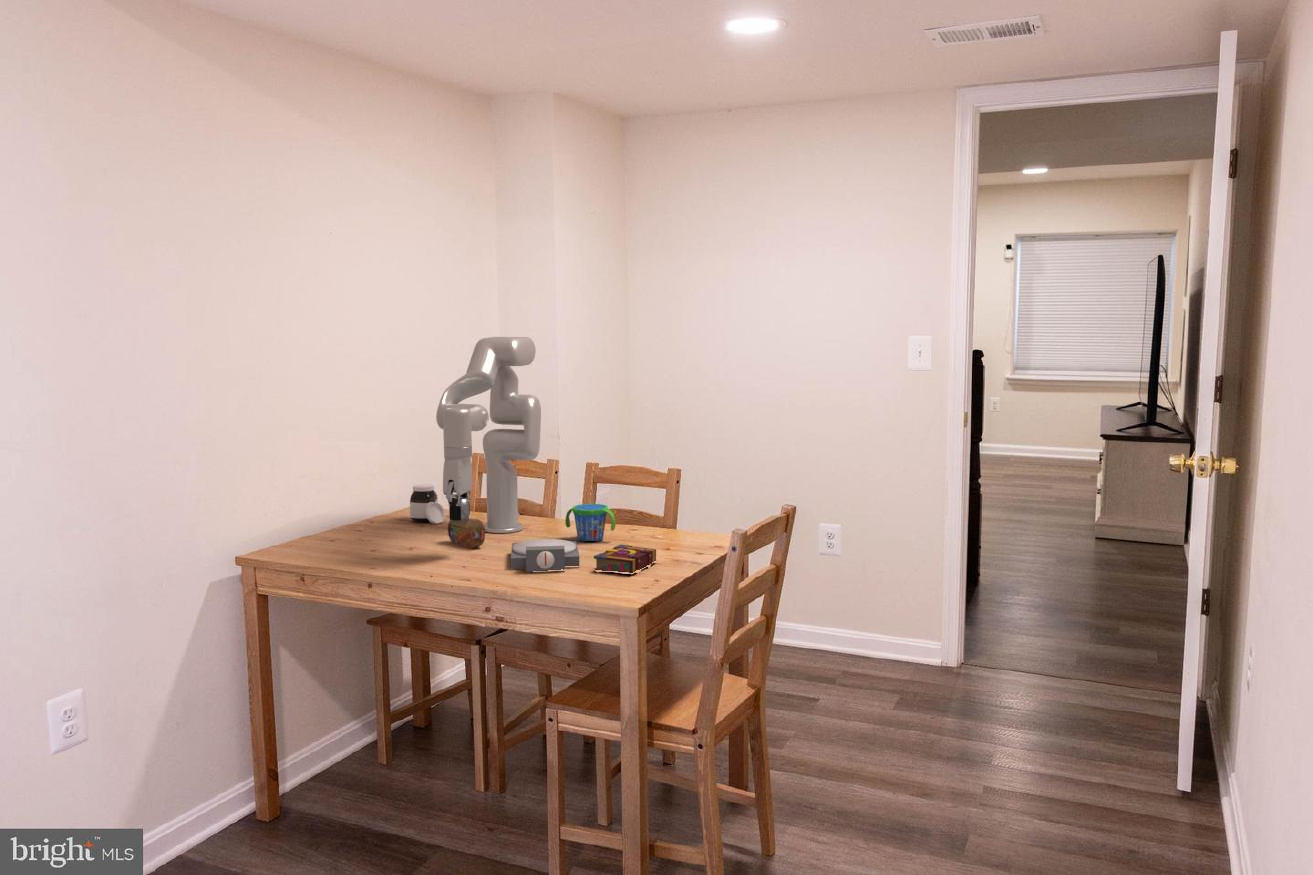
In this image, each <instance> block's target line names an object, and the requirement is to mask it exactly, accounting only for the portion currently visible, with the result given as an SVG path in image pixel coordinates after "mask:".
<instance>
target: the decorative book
mask: <svg viewBox="0 0 1313 875" xmlns="http://www.w3.org/2000/svg"><path fill="white" fill-rule="evenodd" d="M593 560H596V567H595V568H594V569H595V570H602V571H618V572H629V573H633V572H635V571H636V570H640V569H642V568H644V567H646V566H647V565H650V564H652V562H654V561H656V562H657V549H655V548H649V547H639V546H633V545H628V544H622V543H621V544H619V545H616V546H613V548H611V549H610V548H607V549H606V550H605V552H602V553H601V552H600V553H598V554H595V555H593Z"/></svg>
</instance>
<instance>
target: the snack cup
mask: <svg viewBox="0 0 1313 875" xmlns="http://www.w3.org/2000/svg"><path fill="white" fill-rule="evenodd" d="M571 513H573V516H574V522H575V529H576V534H577V539H578V540H579V541H580V540H581V541H580V542H583V541H596V542H599V541H598V540H600V541H602V540H603V539H604V534H605V528H606V518H607V514H608V515H609V517H610V520H611V525H610V531H611V532H613V531H614V530H615V529H616V523H617V522H616V518H615V514H614V513H613V511H612V510H610V509H609V508H608V505H606V504H602V503H583V504H582V503H581V504H577V505H574V506H572V508H570V509H568V510H567V512H566V515H565V520H564V521H565V527H566V528H570V527H571V521H570V516H571Z"/></svg>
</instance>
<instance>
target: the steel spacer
mask: <svg viewBox="0 0 1313 875" xmlns="http://www.w3.org/2000/svg"><path fill="white" fill-rule="evenodd" d="M453 498H455V499H457V497H453ZM469 502H470V501H469V498H467V497H460V505H459V506H461V520H460V521H458V520H451V521H453V522H465V521H468V520H469V518H470V515H469Z"/></svg>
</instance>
